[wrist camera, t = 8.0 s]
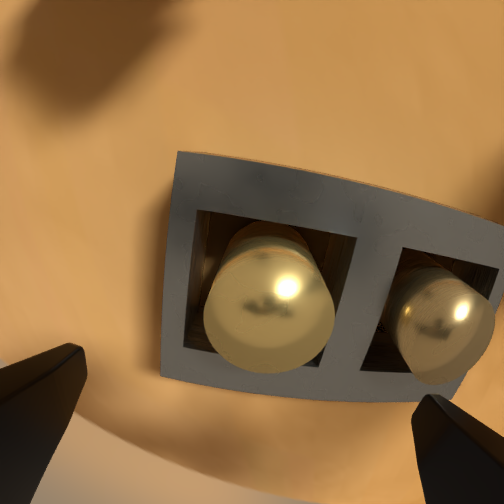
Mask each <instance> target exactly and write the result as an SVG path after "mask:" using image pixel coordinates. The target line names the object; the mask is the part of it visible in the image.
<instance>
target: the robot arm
mask: <svg viewBox="0 0 504 504" xmlns="http://www.w3.org/2000/svg"><path fill="white" fill-rule="evenodd" d="M86 379H87V366H86V359H85V352H84V349H83V348H82V347H81V346H79V345H76V344H73V343H66V344H63V345H61V346H58V347H56V348H53V349H51V350H48V351H45V352H43V353H40V354H38V355H35V356H32V357H30V358H27V359H25V360H22V361H19V362H17V363H14V364H11V365H9V366H6V367H4V368H1V369H0V504H30V503H31V500H32V498H33V496H34V494H35V492H36V489H37V487H38V485H39V483H40V481H41V478H42V477H43V474H44V472H45V470H46V468H47V466H48V464H49V462H50V460H51V458H52V456H53V454H54V452H55V450H56V448H57V446H58V444H59V442H60V440H61V438H62V436H63V434H64V432H65V430H66V428H67V426H68V424H69V422H70V419H71V417H72V414H73V412H74V409H75V406H76V404H77V401H78V399H79V396H80V394H81V391H82V389H83V387H84V384H85V382H86ZM411 425H412V431H413V437H414V444H415V451H416V458H417V465H418V470H419V475H420V479H421V483H422V488H423V492H424V497H425V502H426V504H504V437H502V436H501V435H499V434H498V433H496V432H495V431H493V430H492V429H490V428H489V427H487V426H486V425H484V424H483V423H481V422H480V421H478V420H477V419H475V418H474V417H472V416H471V415H470V414H468V413H467V412H465V411H464V410H462V409H461V408H459V407H458V406H456V405H455V404H453V403H452V402H450V401H449V400H447V399H446V398H444V397H443V396H441V395H440V394H426V395H425V396H424V397H423V398H422V400H421V401H420V403H419V405H418V406H417V408H416V410H415V411H414V413H413V415H412V418H411Z"/></svg>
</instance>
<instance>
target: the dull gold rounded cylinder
mask: <svg viewBox="0 0 504 504" xmlns="http://www.w3.org/2000/svg"><path fill="white" fill-rule="evenodd" d="M379 320H380V321H381V323H382V324H383V326H384V328H385V329H386V331H387V332H388V334H389V335H390V337H391V339H392V340H393V342H394V343H395V345H396V347H397V348H398V350H399V352H400V353H401V355H402V356H403V358H404V360H405V361H406V363H407V365H408V366H409V368H410V370H411V371H412V373H413V375H414V376H415V378H416V379H417V380H419V381H420V382H422V383H424V384H428V385H440V384H445V383H448V382H450V381H453V380H455V379H457V378H458V377H460V376H462V375H463V374H464V373H466V372H467V371H468V370H469V369H471V368H472V367H473V366H474V365H475V364H476V362H477V361H478V360H479V359H480V358H481V356H482V355H483V353H484V352H485V350H486V349H487V347H488V345H489V343H490V340H491V338H492V335H493V331H494V326H495V315H494V310H493V307H492V305H491V303H490V302H489V301H488V300H487V299H486V298H484V297H483V296H482V295H481V294H479V293H478V292H477V291H475V290H474V289H473V288H471V287H470V286H469V285H467V284H466V283H465V282H463V281H462V280H461V279H459V278H458V277H457V276H455V275H454V274H453V273H451V272H450V271H448V270H447V269H446V268H444V267H443V266H441V265H440V264H439V263H437V262H436V261H434V260H433V259H432V258H430V257H429V256H427V255H426V254H424V253H423V252H421V251H418V250H414V249H405V250H402V251H401V254H400V258H399V261H398V265H397V268H396V271H395V275H394V278H393V281H392V284H391V287H390V290H389V293H388V296H387V299H386V302H385V305H384V308H383V311H382V314H381V317H380V319H379Z"/></svg>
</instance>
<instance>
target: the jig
mask: <svg viewBox="0 0 504 504" xmlns="http://www.w3.org/2000/svg"><path fill="white" fill-rule="evenodd" d="M211 212H217V213H224V214H230V215H236V216H242V217H248V218H254V219H259V220H265V221H271V222H277V223H282V224H288V225H293V226H299V227H304V228H310V229H315V230H320V231H326V232H331V235H330V239H329V244H328V248H327V252H326V256H325V260H324V264H323V268H322V272H321V276H322V278H323V280H324V282H325V284H326V286H327V289H328V291H329V293H330V295H331V298H332V301H333V304H334V310H335V321H334V327H333V331H332V333H331V336H330V338H329V340H328V342H327V343H326V345H325V346H324V348H323V349H322V350H321V351H320V352H319V353H318V354H317V355H316V356H315V357H314V358H313V359H311V360H310V361H309V362H307V363H305V364H304V365H302V366H300V367H298V368H295V369H292V370H289V371H285V372H281V373H268V374H265V373H256V372H251V371H247V370H244V369H241V368H239V367H237V366H235V365H233V364H231V363H230V362H228V361H227V360H226V359H224V358H223V357H222V356H221V355H220V354H219V353H218V352H217V351H216V350H215V349H214V347H213V346H212V344H211V343H210V341H209V339H208V337H207V334H206V331H205V327H204V308H205V307H201V306H199V304H200V295H201V286H202V277H203V269H204V261H205V253H206V245H207V238H208V230H209V223H210V216H211ZM402 247H406V248H410V249H415V250H420V251H424V252H429V253H433V254H438V255H442V256H447V257H451V258H455V261H454V264H453V267H452V270H451V273H453V274H454V275H455V276H457V277H458V278H459V279H461V280H462V281H463V282H465V283H466V284H467V285H469V286H470V287H471V288H473V289H474V290H475V291H477V292H478V293H479V294H481V295H482V296H483V297H484V298H486V299H487V300H488V301H489V302H490V303H491V305H492V307H493V310H494V315H495V313H496V311H497V308H498V306H499V303H500V301H501V298H502V295H503V293H504V226H503V225H501V224H498V223H496V222H493V221H491V220H488V219H485V218H483V217H480V216H477V215H474V214H471V213H468V212H465V211H462V210H459V209H456V208H453V207H450V206H447V205H443V204H440V203H437V202H434V201H430V200H427V199H424V198H420V197H417V196H413V195H410V194H406V193H402V192H399V191H395V190H391V189H388V188H384V187H380V186H376V185H372V184H368V183H364V182H360V181H356V180H351V179H347V178H343V177H338V176H334V175H329V174H325V173H320V172H315V171H310V170H306V169H301V168H296V167H290V166H285V165H280V164H274V163H269V162H263V161H257V160H251V159H245V158H238V157H232V156H225V155H218V154H211V153H203V152H190V151H178V152H177V159H176V166H175V173H174V181H173V189H172V197H171V206H170V215H169V224H168V235H167V246H166V257H165V271H164V285H163V303H162V325H161V368H160V376H162V377H167V378H171V379H176V380H180V381H185V382H190V383H195V384H200V385H205V386H211V387H216V388H222V389H228V390H235V391H241V392H248V393H255V394H263V395H271V396H280V397H290V398H300V399H312V400H327V401H347V402H420V401H421V400H422V398H423V397H424V396H425V395H426V394H440V395H441V396H443V397H444V398H446V399H447V400H451V399H452V398H453V396H454V394H455V393H456V391H457V389H458V388H459V386H460V384H461V382H462V381H463V379H464V377H465V375H466V373H467V372H468V371H467V372H466V373H464V374H463V375H462V376H460V377H458V378H457V379H455V380H453V381H450V382H448V383H445V384H440V385H428V384H424V383H422V382H420V381H419V380H417V379H416V378H415V376H414V375H413V373H412V371H411V370H410V368H409V366H408V365H407V363H406V361H405V360H404V358H403V356H402V355H401V353H400V352H399V350H398V348H397V347H396V345H395V343H394V342H393V340H392V339H391V337H390V335H389V334H388V333H385V332H375V330H376V327H377V325H378V322H379V319H380V317H381V314H382V311H383V308H384V305H385V302H386V299H387V296H388V293H389V290H390V287H391V284H392V281H393V278H394V275H395V271H396V268H397V265H398V261H399V258H400V254H401V251H402Z"/></svg>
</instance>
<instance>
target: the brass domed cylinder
mask: <svg viewBox="0 0 504 504" xmlns="http://www.w3.org/2000/svg"><path fill="white" fill-rule="evenodd" d="M334 321H335V310H334V304H333V301H332V298H331V295H330V293H329V291H328V289H327V286H326V284H325V282H324V280H323V278H322V276H321V273H320V271H319V269H318V267H317V265H316V263H315V261H314V259H313V256H312V254H311V252H310V250H309V248H308V246H307V244H306V242H305V241H304V239H303V238H302V236H301V235H300V234H299V233H298V232H297V231H296V230H294V229H293V228H292V227H290V226H288V225H286V224H282V223H277V222H271V221H258V222H254V223H251V224H249V225H247V226H245V227H243V228H242V229H240V230H239V231H238V232H237V233H236V234H235V235H234V236H233V237H232V239H231V240H230V241H229V243H228V245H227V248H226V250H225V253H224V255H223V258H222V261H221V263H220V266H219V269H218V271H217V274H216V276H215V279H214V282H213V284H212V287H211V290H210V292H209V295H208V298H207V301H206V303H205V308H204V327H205V331H206V334H207V337H208V339H209V341H210V343H211V344H212V346H213V347H214V349H215V350H216V351H217V352H218V353H219V354H220V355H221V356H222V357H223V358H224V359H226V360H227V361H228V362H230V363H231V364H233V365H235V366H237V367H239V368H241V369H244V370H247V371H251V372H256V373H265V374H268V373H281V372H285V371H289V370H292V369H295V368H298V367H300V366H302V365H304V364H305V363H307V362H309V361H310V360H311V359H313V358H314V357H315V356H316V355H317V354H318V353H319V352H320V351H321V350H322V349H323V348H324V346H325V345H326V343H327V342H328V340H329V338H330V336H331V333H332V331H333V327H334Z"/></svg>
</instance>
